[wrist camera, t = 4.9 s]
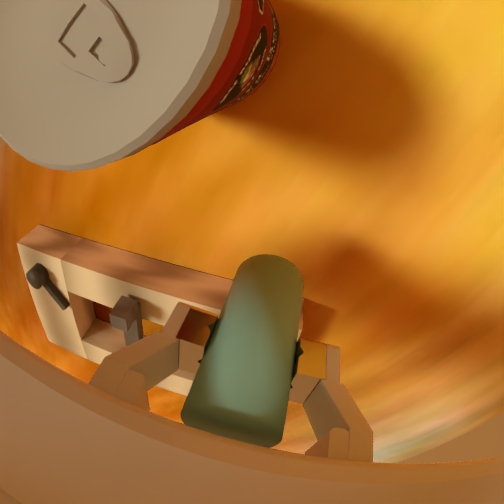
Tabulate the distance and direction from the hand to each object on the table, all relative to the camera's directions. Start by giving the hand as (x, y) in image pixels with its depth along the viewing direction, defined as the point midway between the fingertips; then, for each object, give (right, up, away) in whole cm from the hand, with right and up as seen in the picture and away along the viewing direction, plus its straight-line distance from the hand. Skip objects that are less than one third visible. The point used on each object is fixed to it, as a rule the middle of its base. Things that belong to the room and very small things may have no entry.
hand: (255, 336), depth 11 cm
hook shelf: (-8, -2, +13) cm, 16 cm away
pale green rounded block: (+1, +2, +3) cm, 3 cm away
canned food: (-2, +14, +2) cm, 14 cm away
